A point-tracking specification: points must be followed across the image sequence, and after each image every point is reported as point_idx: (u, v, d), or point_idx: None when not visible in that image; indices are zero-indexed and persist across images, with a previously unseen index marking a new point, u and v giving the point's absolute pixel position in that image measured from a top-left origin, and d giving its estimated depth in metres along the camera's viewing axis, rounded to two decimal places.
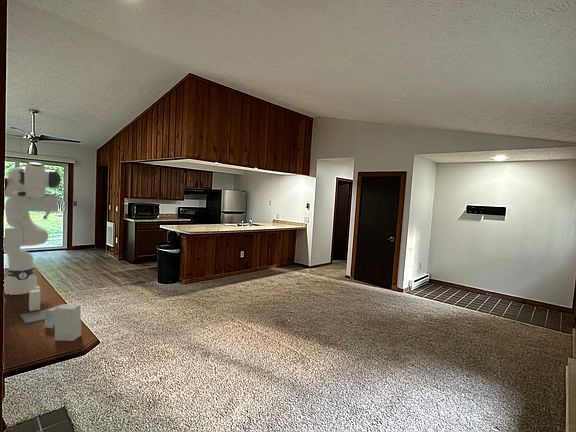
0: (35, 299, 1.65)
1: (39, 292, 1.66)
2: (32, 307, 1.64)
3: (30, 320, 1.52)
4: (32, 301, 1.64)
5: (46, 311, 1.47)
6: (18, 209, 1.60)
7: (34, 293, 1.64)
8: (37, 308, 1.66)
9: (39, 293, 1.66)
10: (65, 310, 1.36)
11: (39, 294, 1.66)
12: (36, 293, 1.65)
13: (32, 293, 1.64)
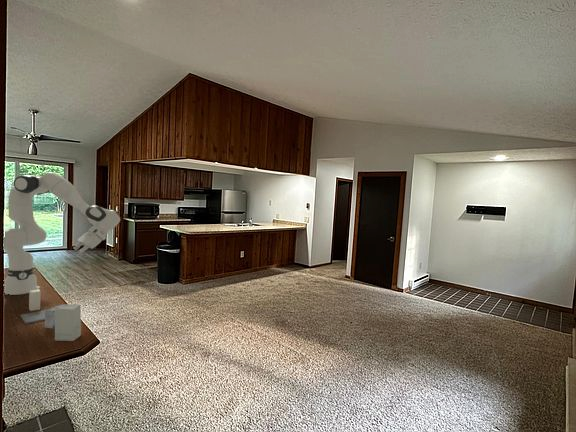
0: (35, 300, 1.65)
1: (39, 292, 1.66)
2: (32, 307, 1.64)
3: (30, 320, 1.52)
4: (32, 301, 1.64)
5: (46, 311, 1.47)
6: None
7: (34, 293, 1.64)
8: (37, 308, 1.66)
9: (39, 293, 1.66)
10: (65, 310, 1.36)
11: (39, 294, 1.66)
12: (36, 293, 1.65)
13: (32, 293, 1.64)
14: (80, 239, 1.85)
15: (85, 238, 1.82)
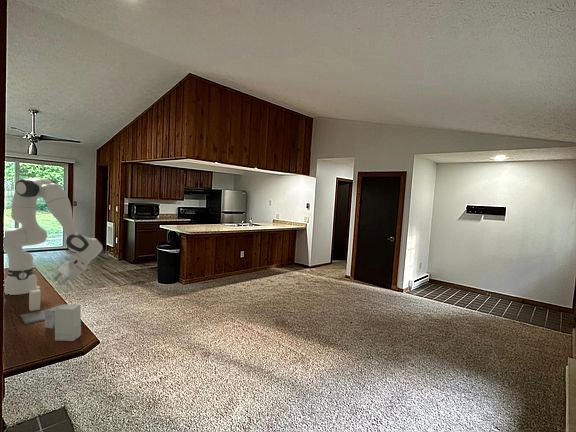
0: (35, 299, 1.65)
1: (39, 292, 1.66)
2: (32, 307, 1.64)
3: (30, 320, 1.52)
4: (32, 301, 1.64)
5: (46, 311, 1.47)
6: None
7: (34, 293, 1.64)
8: (37, 308, 1.66)
9: (39, 293, 1.66)
10: (65, 310, 1.36)
11: (39, 294, 1.66)
12: (36, 293, 1.65)
13: (32, 293, 1.64)
14: (60, 269, 1.79)
15: (65, 269, 1.76)
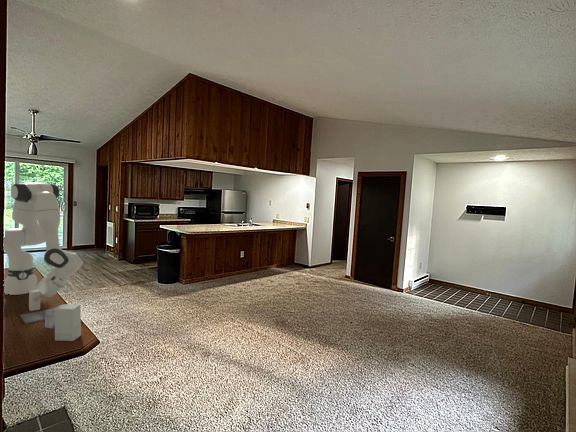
0: None
1: (39, 292, 1.66)
2: (32, 307, 1.64)
3: (30, 320, 1.52)
4: (32, 301, 1.64)
5: (46, 311, 1.47)
6: None
7: (34, 293, 1.64)
8: (37, 308, 1.66)
9: (39, 293, 1.66)
10: (65, 310, 1.36)
11: None
12: (36, 293, 1.65)
13: (32, 293, 1.64)
14: (37, 285, 1.71)
15: (42, 285, 1.69)
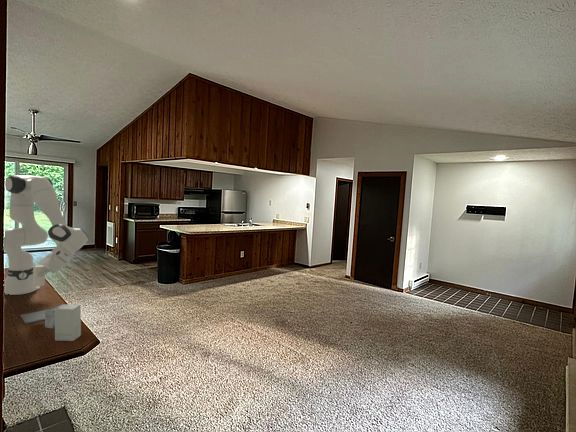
0: None
1: (44, 267, 1.61)
2: (37, 283, 1.59)
3: (30, 320, 1.52)
4: (36, 276, 1.59)
5: (46, 311, 1.47)
6: None
7: (38, 268, 1.59)
8: (42, 284, 1.61)
9: (43, 269, 1.61)
10: (65, 310, 1.36)
11: None
12: (40, 268, 1.60)
13: (36, 268, 1.59)
14: (42, 261, 1.66)
15: (47, 261, 1.64)
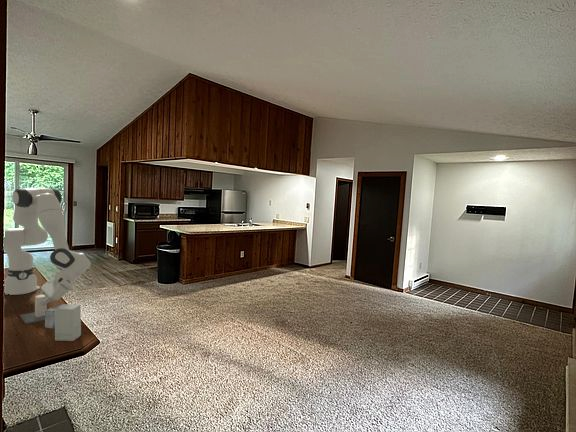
0: (41, 305, 1.57)
1: (45, 297, 1.58)
2: (38, 313, 1.56)
3: (30, 320, 1.52)
4: (38, 307, 1.56)
5: (46, 311, 1.47)
6: None
7: (40, 298, 1.56)
8: (43, 314, 1.58)
9: None
10: (65, 310, 1.36)
11: None
12: (42, 298, 1.57)
13: (38, 298, 1.55)
14: (44, 287, 1.63)
15: (49, 287, 1.61)
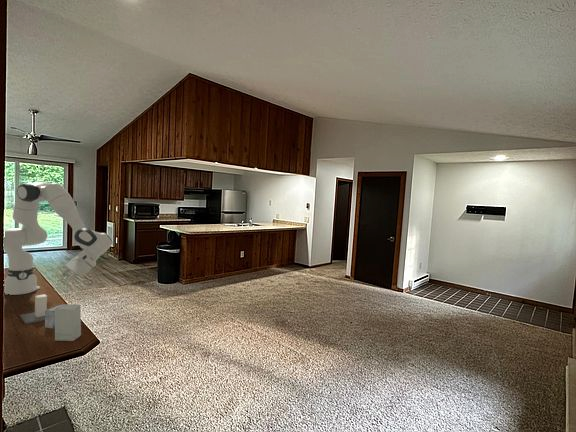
0: (41, 305, 1.57)
1: (45, 297, 1.58)
2: (38, 313, 1.56)
3: (30, 320, 1.52)
4: (38, 307, 1.56)
5: (46, 311, 1.47)
6: None
7: (40, 298, 1.56)
8: (43, 314, 1.58)
9: (45, 299, 1.58)
10: (65, 310, 1.36)
11: (45, 299, 1.58)
12: (42, 298, 1.57)
13: (38, 298, 1.55)
14: (68, 265, 1.71)
15: (73, 264, 1.69)
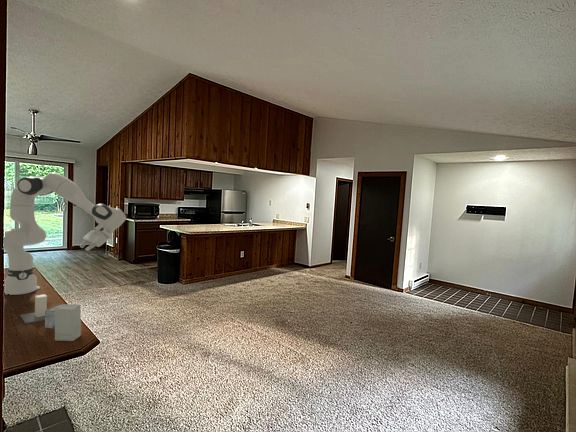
0: (41, 305, 1.57)
1: (45, 297, 1.58)
2: (38, 313, 1.56)
3: (30, 320, 1.52)
4: (38, 307, 1.56)
5: (46, 311, 1.47)
6: None
7: (40, 298, 1.56)
8: (43, 314, 1.58)
9: (45, 299, 1.58)
10: (65, 310, 1.36)
11: (45, 299, 1.58)
12: (42, 298, 1.57)
13: (38, 298, 1.55)
14: (86, 237, 1.85)
15: (91, 236, 1.83)
